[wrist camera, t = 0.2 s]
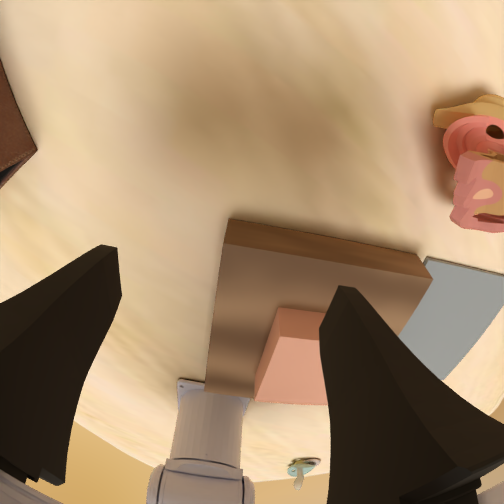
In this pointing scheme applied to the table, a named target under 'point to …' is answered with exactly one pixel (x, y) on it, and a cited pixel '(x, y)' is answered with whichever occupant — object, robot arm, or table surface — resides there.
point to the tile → (292, 360)
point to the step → (296, 291)
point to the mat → (452, 314)
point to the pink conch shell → (476, 161)
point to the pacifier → (301, 470)
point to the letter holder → (12, 134)
